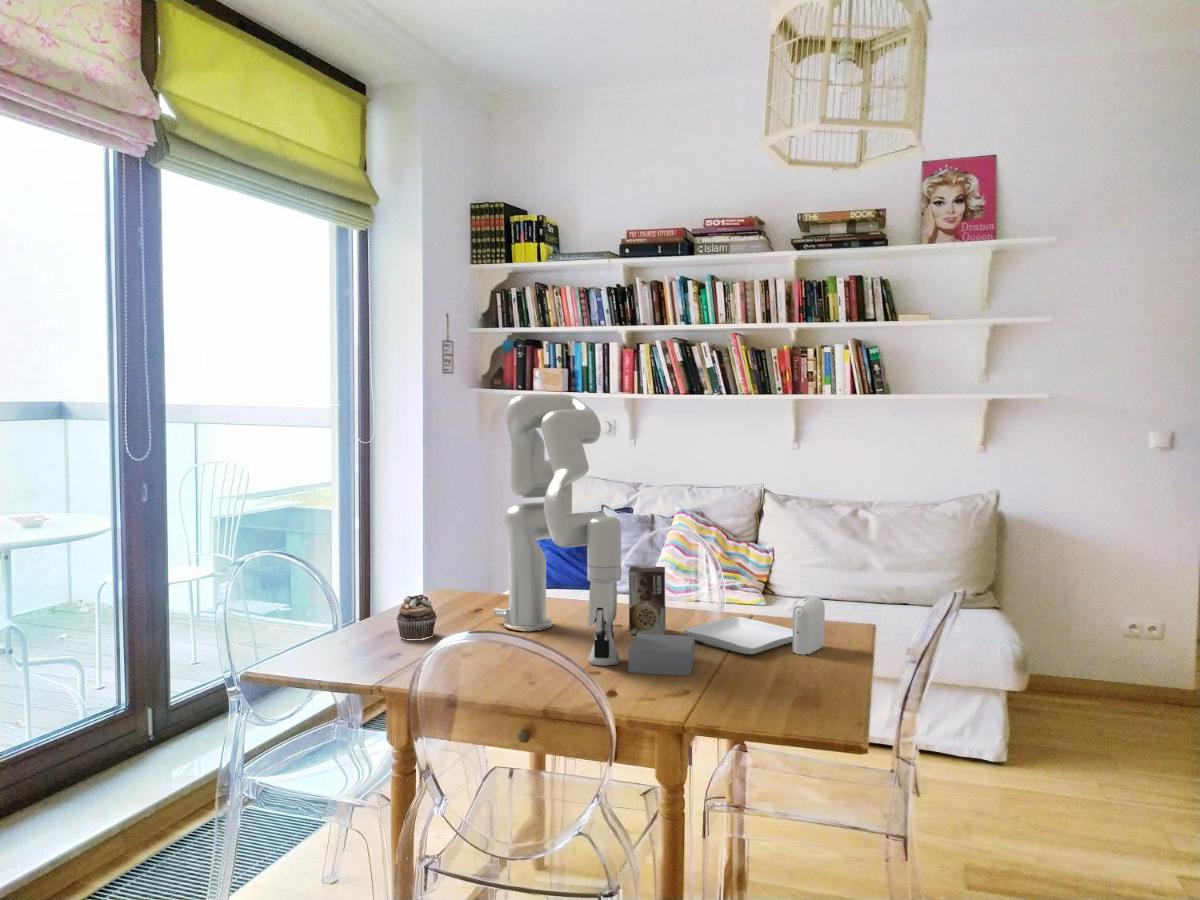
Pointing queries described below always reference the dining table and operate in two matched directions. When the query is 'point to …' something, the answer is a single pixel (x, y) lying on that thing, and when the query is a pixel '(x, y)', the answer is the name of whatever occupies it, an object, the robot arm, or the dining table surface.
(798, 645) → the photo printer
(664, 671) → the slate block
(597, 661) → the flask
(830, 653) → the dining table surface
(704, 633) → the salad plate
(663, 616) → the coffee box
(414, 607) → the cupcake
